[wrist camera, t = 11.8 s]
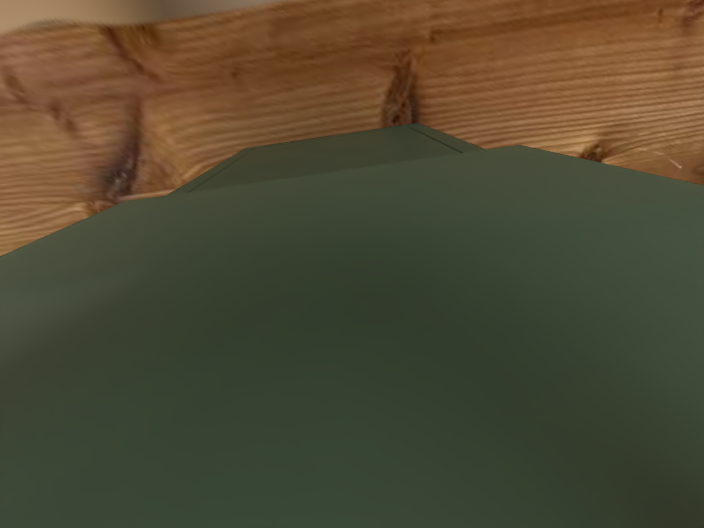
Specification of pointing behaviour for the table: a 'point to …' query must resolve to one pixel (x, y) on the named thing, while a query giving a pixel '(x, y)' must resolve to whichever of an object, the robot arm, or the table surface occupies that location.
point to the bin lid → (364, 353)
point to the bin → (329, 155)
